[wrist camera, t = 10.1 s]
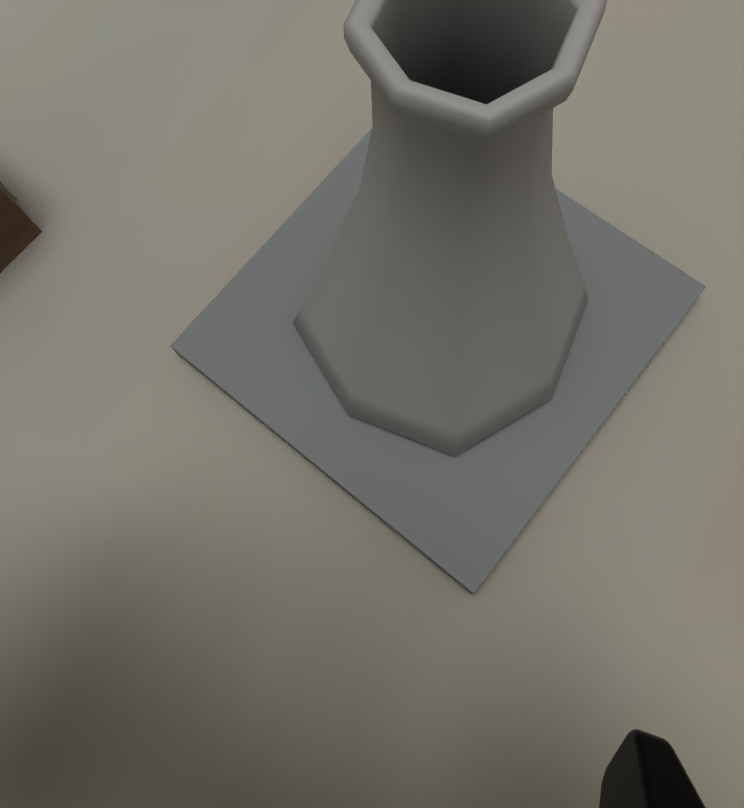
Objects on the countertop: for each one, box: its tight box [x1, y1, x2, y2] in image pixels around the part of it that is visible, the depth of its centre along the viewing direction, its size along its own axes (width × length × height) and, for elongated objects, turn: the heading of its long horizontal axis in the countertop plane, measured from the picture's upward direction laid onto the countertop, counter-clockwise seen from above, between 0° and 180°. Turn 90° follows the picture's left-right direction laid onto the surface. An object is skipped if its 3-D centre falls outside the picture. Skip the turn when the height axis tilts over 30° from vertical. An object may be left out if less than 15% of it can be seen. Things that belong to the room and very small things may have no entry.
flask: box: [293, 0, 607, 456], centre depth 14 cm, size 7×7×10 cm
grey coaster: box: [171, 129, 706, 594], centre depth 19 cm, size 10×10×1 cm
